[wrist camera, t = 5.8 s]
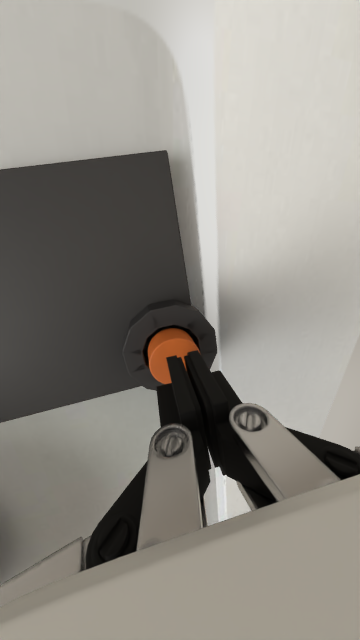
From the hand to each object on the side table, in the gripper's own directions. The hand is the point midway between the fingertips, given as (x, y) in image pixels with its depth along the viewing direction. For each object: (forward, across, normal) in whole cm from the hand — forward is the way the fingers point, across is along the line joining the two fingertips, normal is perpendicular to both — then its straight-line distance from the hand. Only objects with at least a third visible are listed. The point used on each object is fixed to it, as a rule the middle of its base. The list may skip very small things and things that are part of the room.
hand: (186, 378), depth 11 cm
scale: (+6, +6, -4) cm, 10 cm away
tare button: (+3, 0, 0) cm, 3 cm away
